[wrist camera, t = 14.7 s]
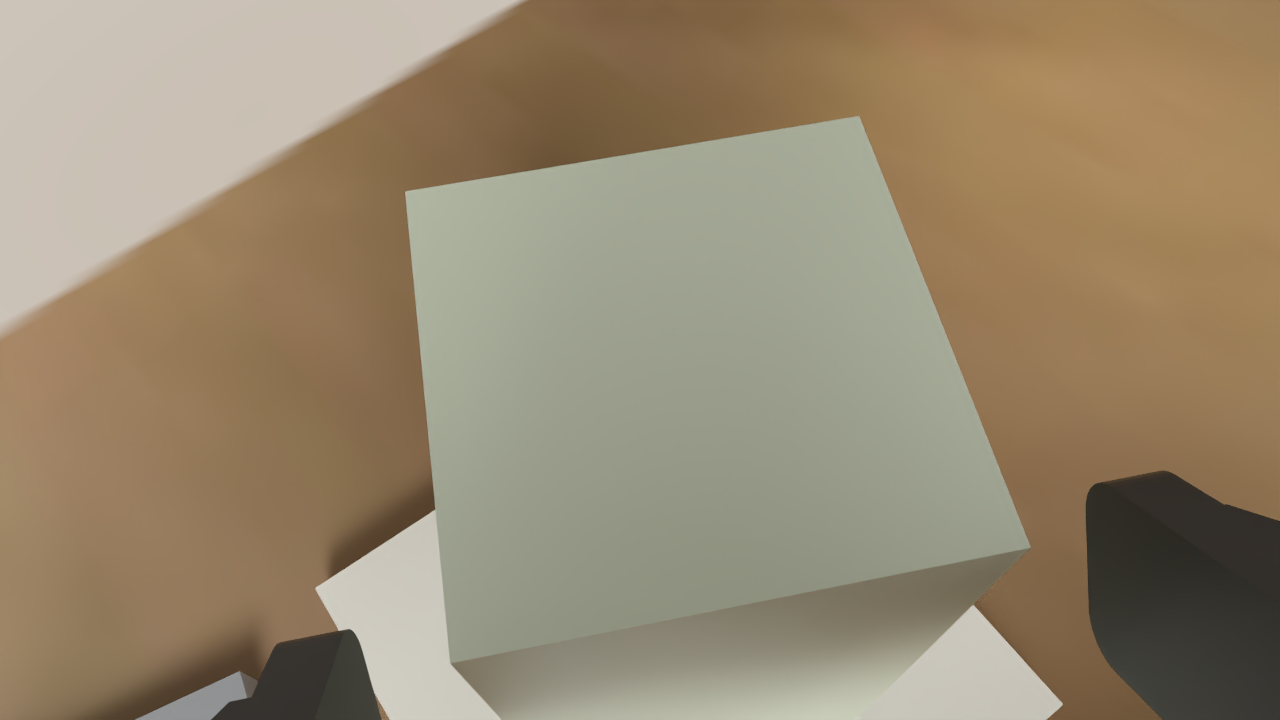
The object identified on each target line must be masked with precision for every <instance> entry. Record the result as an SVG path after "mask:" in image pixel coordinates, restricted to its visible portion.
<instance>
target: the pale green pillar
mask: <svg viewBox="0 0 1280 720" xmlns="http://www.w3.org/2000/svg"><path fill="white" fill-rule="evenodd" d="M405 196H406V206H407V217H408V227H409V238H410V248H411V259H412V269H413V280H414V290H415V301H416V311H417V322H418V332H419V343H420V353H421V363H422V374H423V384H424V395H425V405H426V416H427V426H428V437H429V447H430V458H431V468H432V479H433V489H434V500H435V510H436V520H437V531H438V541H439V552H440V562H441V573H442V583H443V594H444V604H445V615H446V625H447V636H448V646H449V657H450V664H451V665H452V666H453V667H454V668H455V669H456V670H457V671H458V673H459V674H460V675H461V676H462V677H463V678H464V679H465V680H466V681H467V682H468V683H469V685H470V686H471V687H472V688H473V689H474V690H475V691H476V692H477V693H478V694H479V696H480V697H481V698H482V699H483V700H484V701H485V702H486V703H487V704H488V705H489V706H490V708H491V709H492V710H493V711H494V712H495V713H496V714H497V715H498V716H499V717H500V718H501V720H857V719H858V718H859V717H860V716H861V715H862V714H863V713H864V712H865V711H866V710H867V709H868V708H869V707H870V706H871V705H872V704H873V703H874V702H875V701H876V700H877V699H878V698H879V697H880V696H881V695H882V694H883V693H884V692H885V691H886V690H887V689H888V688H889V687H891V686H892V685H893V684H894V683H895V682H896V681H897V680H898V679H899V678H900V677H901V676H902V675H903V674H904V673H905V672H906V671H907V670H908V669H909V668H910V667H911V666H912V665H913V664H914V663H915V662H916V661H917V660H918V659H919V658H920V657H921V656H922V655H923V654H924V653H925V652H926V651H927V650H928V649H929V648H930V647H931V646H932V645H933V644H934V643H935V642H936V641H937V640H938V639H939V638H940V637H941V636H942V635H943V634H944V633H945V632H946V631H947V630H948V629H949V628H950V627H951V626H952V625H953V624H954V623H955V622H956V621H957V620H958V619H959V618H960V617H961V616H962V615H963V614H964V613H965V612H966V611H967V610H968V609H969V608H970V607H971V606H972V605H973V604H974V603H975V602H976V601H978V600H979V599H980V598H981V597H982V596H983V595H984V594H985V593H986V592H987V591H988V590H989V589H990V588H991V587H992V586H993V585H994V584H995V583H996V582H997V581H998V580H999V579H1000V578H1001V577H1002V576H1003V575H1004V574H1005V573H1006V572H1007V571H1008V570H1009V569H1010V568H1011V567H1012V566H1013V565H1014V564H1015V563H1016V562H1017V561H1018V560H1019V559H1020V558H1021V557H1022V556H1023V555H1024V554H1025V553H1026V552H1027V551H1028V550H1029V549H1030V548H1031V547H1030V544H1029V542H1028V539H1027V537H1026V534H1025V532H1024V529H1023V527H1022V524H1021V521H1020V519H1019V516H1018V514H1017V511H1016V509H1015V506H1014V504H1013V501H1012V499H1011V496H1010V494H1009V491H1008V489H1007V486H1006V484H1005V481H1004V479H1003V476H1002V474H1001V471H1000V469H999V466H998V464H997V461H996V459H995V456H994V454H993V451H992V449H991V446H990V444H989V441H988V439H987V436H986V434H985V431H984V429H983V426H982V424H981V421H980V418H979V416H978V413H977V411H976V408H975V406H974V403H973V401H972V398H971V396H970V393H969V391H968V388H967V386H966V383H965V381H964V378H963V376H962V373H961V371H960V368H959V366H958V363H957V361H956V358H955V356H954V353H953V351H952V348H951V346H950V343H949V341H948V338H947V336H946V333H945V331H944V328H943V326H942V323H941V320H940V318H939V315H938V313H937V310H936V308H935V305H934V303H933V300H932V298H931V295H930V293H929V290H928V288H927V285H926V283H925V280H924V278H923V275H922V273H921V270H920V268H919V265H918V263H917V260H916V258H915V255H914V253H913V250H912V248H911V245H910V243H909V240H908V238H907V235H906V233H905V230H904V228H903V225H902V223H901V220H900V217H899V215H898V212H897V210H896V207H895V205H894V202H893V200H892V197H891V195H890V192H889V190H888V187H887V185H886V182H885V180H884V177H883V175H882V172H881V170H880V167H879V165H878V162H877V160H876V157H875V155H874V152H873V150H872V147H871V145H870V142H869V140H868V137H867V135H866V132H865V130H864V127H863V125H862V122H861V119H860V117H859V116H856V117H850V118H844V119H838V120H832V121H826V122H820V123H814V124H808V125H802V126H796V127H790V128H784V129H778V130H772V131H766V132H760V133H754V134H748V135H742V136H736V137H730V138H724V139H718V140H712V141H706V142H700V143H694V144H688V145H682V146H676V147H670V148H664V149H658V150H652V151H646V152H640V153H634V154H628V155H622V156H616V157H610V158H604V159H598V160H592V161H586V162H580V163H574V164H568V165H562V166H556V167H550V168H544V169H538V170H532V171H526V172H520V173H514V174H508V175H502V176H496V177H490V178H484V179H478V180H471V181H465V182H459V183H453V184H447V185H441V186H435V187H429V188H423V189H417V190H411V191H405Z"/></svg>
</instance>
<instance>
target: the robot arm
mask: <svg viewBox="0 0 1280 720" xmlns="http://www.w3.org/2000/svg"><path fill="white" fill-rule="evenodd" d="M1086 533H1087V564H1088V595H1089V615H1090V621H1091V625H1092V629H1093V632H1094V635H1095V638H1096V641H1097V643H1098V646H1099V648H1100V650H1101V652H1102V654H1103V655H1104V657H1105V659H1106V660H1107V662H1108V663H1109V665H1110V666H1111V667H1112V668H1113V670H1114V671H1115V672H1116V673H1117V674H1118V675H1119V676H1120V677H1121V678H1122V679H1123V680H1124V681H1125V682H1126V683H1127V684H1128V685H1129V686H1130V687H1131V688H1132V689H1133V690H1134V691H1135V692H1136V693H1137V694H1138V695H1139V696H1140V697H1141V698H1142V699H1143V700H1144V701H1145V702H1146V703H1147V704H1148V705H1149V706H1150V707H1151V708H1152V709H1153V710H1154V711H1155V712H1156V713H1157V714H1158V715H1159V716H1160V717H1161V718H1162V719H1163V720H1280V521H1277V520H1274V519H1271V518H1268V517H1265V516H1261V515H1258V514H1255V513H1252V512H1249V511H1246V510H1243V509H1239V508H1236V507H1233V506H1230V505H1227V504H1226V505H1223V504H1222V503H1220V502H1219V501H1217V500H1215V499H1214V498H1212V497H1210V496H1209V495H1207V494H1205V493H1204V492H1202V491H1201V490H1199V489H1197V488H1196V487H1194V486H1192V485H1191V484H1189V483H1187V482H1186V481H1184V480H1183V479H1181V478H1179V477H1178V476H1176V475H1174V474H1172V473H1170V472H1167V471H1157V472H1152V473H1147V474H1142V475H1137V476H1132V477H1127V478H1122V479H1117V480H1112V481H1106V482H1101V483H1097V484H1095V485H1093V486H1092V487H1091V489H1090V490H1089V492H1088V495H1087V500H1086ZM211 720H381V716H380V713H379V709H378V705H377V702H376V698H375V694H374V691H373V687H372V684H371V680H370V676H369V673H368V669H367V665H366V662H365V658H364V655H363V651H362V648H361V645H360V642H359V640H358V638H357V636H356V634H355V633H354V632H353V631H352V630H351V629H346V630H341V631H336V632H331V633H326V634H321V635H315V636H310V637H305V638H300V639H295V640H290V641H285V642H280V643H278V644H277V645H276V646H275V647H274V649H273V651H272V653H271V655H270V657H269V659H268V662H267V664H266V666H265V668H264V671H263V673H262V675H261V677H260V679H259V682H258V684H257V686H256V688H255V690H254V693H253V695H252V697H250V698H245V699H240V700H235V701H230V702H228V703H227V704H226V705H225V706H224V707H223V708H222V709H221V710H220V711H219V712H218V713H217V714H216V715H215V716H214V717H213V718H212V719H211Z"/></svg>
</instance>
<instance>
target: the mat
mask: <svg viewBox="0 0 1280 720" xmlns="http://www.w3.org/2000/svg"><path fill="white" fill-rule="evenodd" d="M315 589H316V591H317V593H318V595H319V596H320V598H321V600H322V602H323V603H324V605H325V607H326V609H327V610H328V612H329V614H330V616H331V617H332V619H333V621H334V623H335V624H336V626H337V628H338V630H339V631H341V630H346V629H351V630H352V631H353V632H354V633H355V634H356V636H357V638H358V640H359V642H360V645H361V648H362V651H363V655H364V658H365V662H366V665H367V669H368V673H369V676H370V680H371V684H372V687H373V691H374V693H375V695H376V696H377V698H378V700H379V702H380V703H381V705H382V707H383V709H384V710H385V712H386V714H387V716H388V717H389V719H390V720H501V718H500V717H499V716H498V715H497V714H496V713H495V712H494V711H493V710H492V709H491V708H490V706H489V705H488V704H487V703H486V702H485V701H484V700H483V699H482V698H481V697H480V696H479V694H478V693H477V692H476V691H475V690H474V689H473V688H472V687H471V686H470V685H469V683H468V682H467V681H466V680H465V679H464V678H463V677H462V676H461V675H460V674H459V673H458V671H457V670H456V669H455V668H454V667H453V666H452V665H451V664H450V657H449V646H448V636H447V625H446V615H445V604H444V594H443V583H442V573H441V562H440V552H439V541H438V531H437V520H436V510H434V511H432V512H431V513H429V514H428V515H426V516H425V517H423V518H422V519H420V520H419V521H417V522H416V523H414V524H413V525H411V526H410V527H408V528H406V529H405V530H403V531H402V532H400V533H399V534H397V535H396V536H394V537H393V538H391V539H390V540H388V541H387V542H385V543H383V544H382V545H380V546H379V547H377V548H376V549H374V550H373V551H371V552H370V553H368V554H367V555H365V556H364V557H362V558H361V559H359V560H357V561H356V562H354V563H353V564H351V565H350V566H348V567H347V568H345V569H344V570H342V571H341V572H339V573H338V574H336V575H334V576H333V577H331V578H330V579H328V580H327V581H325V582H324V583H322V584H321V585H319V586H318V587H316V588H315ZM1062 705H1063V704H1062V702H1061V701H1060V700H1059V699H1058V698H1057V697H1056V696H1055V695H1054V694H1053V693H1052V691H1051V690H1050V689H1049V688H1048V687H1047V686H1046V685H1045V684H1044V683H1043V681H1042V680H1041V679H1040V678H1039V677H1038V676H1037V675H1036V674H1035V673H1034V671H1033V670H1032V669H1031V668H1030V667H1029V666H1028V665H1027V664H1026V663H1025V661H1024V660H1023V659H1022V658H1021V657H1020V656H1019V655H1018V654H1017V653H1016V651H1015V650H1014V649H1013V648H1012V647H1011V646H1010V645H1009V644H1008V643H1007V642H1006V640H1005V639H1004V638H1003V637H1002V636H1001V635H1000V634H999V633H998V632H997V630H996V629H995V628H994V627H993V626H992V625H991V624H990V623H989V622H988V620H987V619H986V618H985V617H984V616H983V615H982V614H981V613H980V612H979V610H978V609H977V608H976V607H975V606H974V605H972V606H971V607H970V608H969V609H968V610H967V611H966V612H965V613H964V614H963V615H962V616H961V617H960V618H959V619H958V620H957V621H956V622H955V623H954V624H953V625H952V626H951V627H950V628H949V629H948V630H947V631H946V632H945V633H944V634H943V635H942V636H941V637H940V638H939V639H938V640H937V641H936V642H935V643H934V644H933V645H932V646H931V647H930V648H929V649H928V650H927V651H926V652H925V653H924V654H923V655H922V656H921V657H920V658H919V659H918V660H917V661H916V662H915V663H914V664H913V665H912V666H911V667H910V668H909V669H908V670H907V671H906V672H905V673H904V674H903V675H902V676H901V677H900V678H899V679H898V680H897V681H896V682H895V683H894V684H893V685H892V686H891V687H889V688H888V689H887V690H886V691H885V692H884V693H883V694H882V695H881V696H880V697H879V698H878V699H877V700H876V701H875V702H874V703H873V704H872V705H871V706H870V707H869V708H868V709H867V710H866V711H865V712H864V713H863V714H862V715H861V716H860V717H859V718H858V719H857V720H1046V719H1048V718H1049V717H1050V716H1051V715H1052V714H1053V713H1054V712H1055V711H1057V710H1058V709H1059V708H1060V707H1061V706H1062Z"/></svg>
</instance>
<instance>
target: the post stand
mask: <svg viewBox="0 0 1280 720" xmlns="http://www.w3.org/2000/svg"><path fill="white" fill-rule="evenodd" d="M257 684H258V681H257V680H255V679H254V678H252V677H250V676H248V675H246V674H244V673H243V672H241V671H239V672H236V673H234V674H232V675H230V676H228V677H226V678H223V679H221V680H219V681H217V682H215V683H213V684H211V685H208V686H206V687H204V688H202V689H200V690H198V691H196V692H193V693H191V694H189V695H187V696H185V697H183V698H181V699H178V700H176V701H174V702H172V703H170V704H168V705H165V706H163V707H161V708H159V709H157V710H155V711H153V712H150V713H148V714H146V715H144V716H142V717H140V718H138V719H135V720H211V719H212V718H213V717H214V716H215V715H216V714H217V713H218V712H219V711H220V710H221V709H222V708H223V707H224V706H225V705H226V704H227V703H228V702H230V701H235V700H240V699H245V698H250V697H252V695H253V693H254V690H255V688H256V686H257Z"/></svg>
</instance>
